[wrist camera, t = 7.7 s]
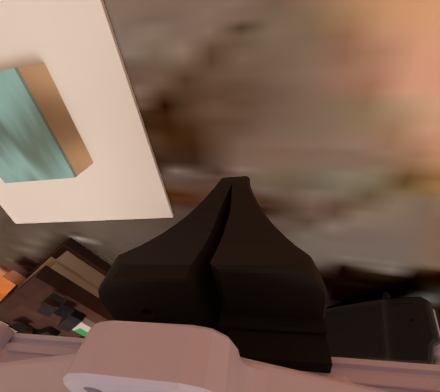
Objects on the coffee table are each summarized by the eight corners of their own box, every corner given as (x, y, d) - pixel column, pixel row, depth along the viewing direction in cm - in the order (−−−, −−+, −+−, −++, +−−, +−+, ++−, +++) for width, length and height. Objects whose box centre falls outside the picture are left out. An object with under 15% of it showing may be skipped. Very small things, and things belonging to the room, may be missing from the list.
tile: (75, 177, 22) (4, 183, 23) (93, 162, 24) (28, 168, 26) (13, 67, 17) (-71, 84, 18) (44, 63, 19) (-32, 77, 21)
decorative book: (129, 393, 44) (-38, 314, 34) (144, 349, 51) (8, 270, 40) (203, 379, 36) (12, 267, 25) (211, 328, 42) (61, 220, 31)
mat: (174, 215, 27) (173, 217, 27) (17, 221, 32) (15, 223, 31) (71, -96, 14) (67, -99, 14) (-172, -14, 19) (-179, -15, 18)
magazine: (226, 412, 38) (499, 532, 17) (211, 405, 37) (482, 524, 16) (252, 305, 49) (436, 297, 28) (241, 298, 48) (424, 283, 27)
